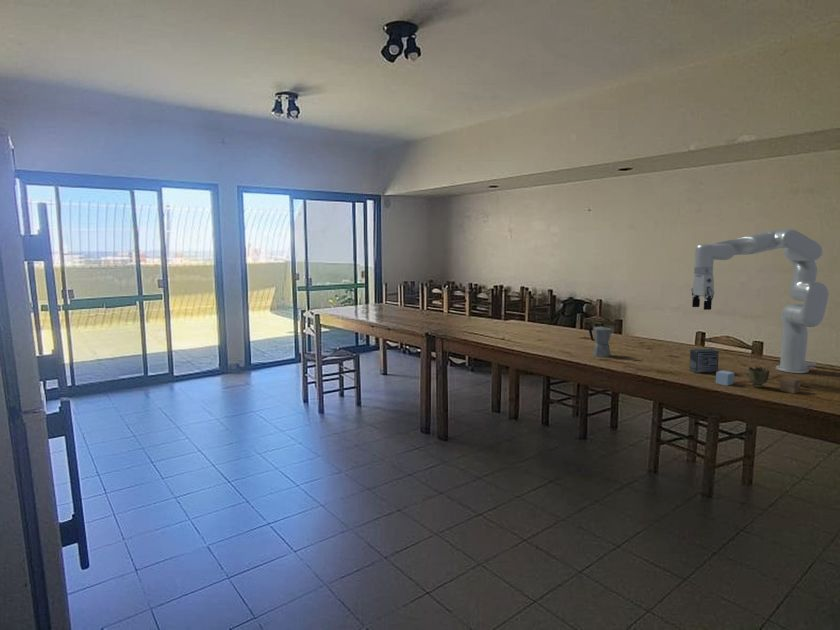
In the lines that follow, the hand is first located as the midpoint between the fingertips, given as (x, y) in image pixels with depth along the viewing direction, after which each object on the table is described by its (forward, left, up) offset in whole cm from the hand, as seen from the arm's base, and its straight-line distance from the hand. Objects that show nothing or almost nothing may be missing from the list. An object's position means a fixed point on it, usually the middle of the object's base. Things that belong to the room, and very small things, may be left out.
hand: (701, 308), depth 236 cm
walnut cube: (-22, +31, -31) cm, 49 cm away
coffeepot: (+34, -40, -31) cm, 60 cm away
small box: (-3, -2, -31) cm, 31 cm away
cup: (-12, +25, -31) cm, 42 cm away
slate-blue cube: (-2, +19, -31) cm, 36 cm away
